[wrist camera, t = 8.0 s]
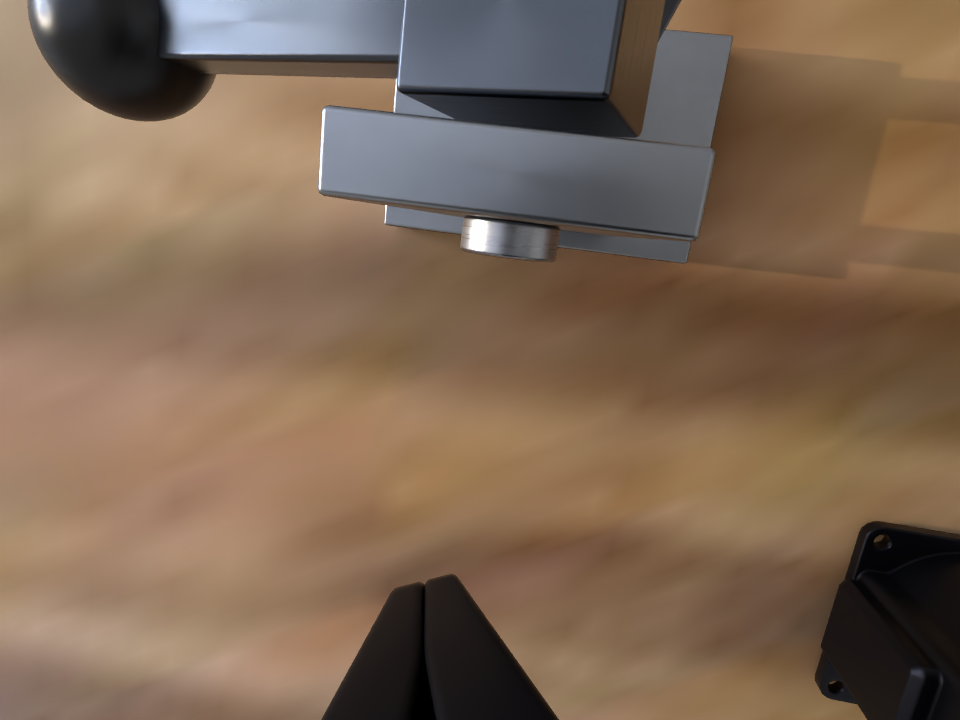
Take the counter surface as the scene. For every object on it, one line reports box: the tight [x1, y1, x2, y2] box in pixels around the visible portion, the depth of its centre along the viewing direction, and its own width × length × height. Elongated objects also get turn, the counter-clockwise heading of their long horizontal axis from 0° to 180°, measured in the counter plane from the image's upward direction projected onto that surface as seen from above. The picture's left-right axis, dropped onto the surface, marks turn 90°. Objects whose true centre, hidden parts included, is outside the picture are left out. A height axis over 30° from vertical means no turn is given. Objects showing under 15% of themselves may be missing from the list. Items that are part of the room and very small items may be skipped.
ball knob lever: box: [28, 0, 665, 138], centre depth 9 cm, size 11×3×3 cm, turn 82°
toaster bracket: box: [318, 0, 733, 264], centre depth 12 cm, size 9×6×12 cm, turn 83°
